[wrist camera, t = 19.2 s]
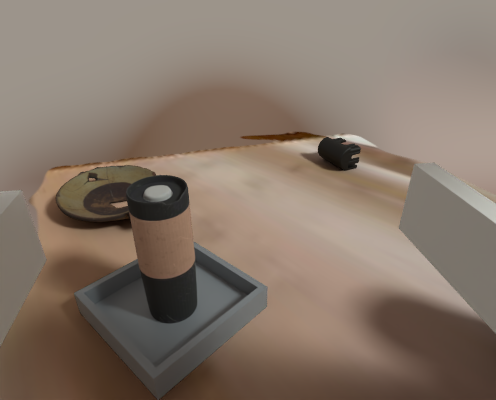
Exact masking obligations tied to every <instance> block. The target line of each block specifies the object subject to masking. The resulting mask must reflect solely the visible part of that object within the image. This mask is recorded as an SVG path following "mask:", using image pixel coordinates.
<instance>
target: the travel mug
mask: <svg viewBox="0 0 496 400" xmlns="http://www.w3.org/2000/svg"><path fill="white" fill-rule="evenodd" d="M126 197H127V203H128V208H129V214H130V219H131V225H132V230H133V236H134V241H135V247H136V252H137V258H138V263H139V268H140V272H141V277H142V281H143V285H144V289H145V294H146V298H147V302H148V306H149V310H150V313H151V315H152V316H153V318H154V319H156V320H157V321H159V322H162V323H168V324H172V323H178V322H181V321H183V320H185V319H187V318H188V317H190V316H191V315H192V314H193V313H194V311H195V310H196V307H197V282H196V264H195V251H194V242H193V232H192V223H191V213H190V204H189V195H188V187H187V184H186V182H185V181H184V180H183V179H181V178H178V177H175V176H169V175H157V176H150V177H146V178H143V179H140V180H138V181H136V182H134V183H132V184H131V185H130V186H129V187H128V188H127V191H126Z"/></svg>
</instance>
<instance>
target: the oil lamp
mask: <svg viewBox="0 0 496 400" xmlns="http://www.w3.org/2000/svg"><path fill="white" fill-rule="evenodd" d="M150 176H156V174H155V172H153V171H151V170H148V169H146V168H142V167H139V166H130V165H127V166H109V167H107V166H106V167H97V168H95V169H92V170H90V171H86V172H81V173H80V174H79V175H78V176H75V177H74V178H72V179H70V180H69V181H68V182H66V183H65V184H64V185H63V186H62V187H61V188H60V189H59V191H58V192H57V195H56V203H57V205H58V207H59V208H60V210H61V211H62V212H63V213H64V214H65V215H67V216H69V217H71V218H74V219H78V220H82V221H91V222H104V221H114V220H122V219H130V214H129V208H128V206H126V207H122V208H116V207H115V206H113V205H111V204H110V203H113V202H120V201H126V200H127V197H126V191H127V188H128V187H129V186H130V185H131V184H132V183H134V182H136V181H138V180H140V179H143V178H146V177H150ZM89 178H95V179H96V181H92V182H90V181H89Z"/></svg>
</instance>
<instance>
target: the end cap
mask: <svg viewBox="0 0 496 400" xmlns="http://www.w3.org/2000/svg"><path fill="white" fill-rule="evenodd" d="M343 142H346V140H345V139H342V138H337V139H331V138H329V137H326V138H324V139H323V140H322V141H321V142H320V144H319V146H318V153H319V155H320V156H321V157H322V158H323V159H325V160H327V161H329V162H330V163H332V164H334V165H336V166H338V167H339V168H341V169H343V170H350V169H354V168H357V165H355V163H358V162H359V157H357V158H353V159H351V157H352V155H355V154H359V153H360V150H361V148H360V147H359V146H358V145H355V144H349V145H344V144H341V143H343Z"/></svg>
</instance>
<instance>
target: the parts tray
mask: <svg viewBox="0 0 496 400" xmlns="http://www.w3.org/2000/svg"><path fill="white" fill-rule="evenodd" d="M193 242H194V241H193ZM194 251H195V264H196V282H197V307H196V310H195V311H194V313H193V314H192V315H191V316H190V317H188V318H187V319H185V320H183V321H181V322H178V323H172V324H168V323H162V322H159V321H157V320H156V319H154V318H153V316H152V315H151V313H150V310H149V306H148V302H147V298H146V294H145V289H144V285H143V281H142V277H141V272H140V268H139V263H138V259H137V260H135V261H133V262H131V263H129V264H127V265H125V266H123V267H122V268H120V269H118V270H116V271H114V272H112V273H110V274H109V275H107V276H105V277H103V278H101V279H99V280H97V281H96V282H94V283H92V284H90V285H88V286H86V287H84V288H83V289H81V290H79V291H77V292H75V293H74V296H75V299H76V302H77V305H78V308H79V311H80V313H81V314H82V316H83V317H84V318H85V319H86V320H87V321H88V322H89V323H90V325H91V326H92V327H93V328H94V329H95V330H96V331H97V332H98V334H99V335H100V336H101V337H102V338H103V339H104V340H105V341H106V342H107V344H108V345H109V346H110V347H111V348H112V349H113V350H114V351H115V353H116V354H117V355H118V356H119V357H120V358H121V359H122V360H123V361H124V363H125V364H126V365H127V366H128V367H129V368H130V369H131V370H132V372H133V373H134V374H135V375H136V376H137V377H138V378H139V379H140V381H141V382H142V383H143V384H144V385H145V386H146V387H147V388H148V389H149V391H150V392H151V393H152V394H153V395H154V396H155V397H156V398H157V400H159V399H160V398H161V397H162V396H164V395H165V394H166V393H167V392H168V391H169V390H171V389H172V388H173V387H174V386H175V385H176V384H177V383H179V382H180V381H181V380H182V379H183V378H184V377H186V376H187V375H188V374H189V373H190V372H191V371H193V370H194V369H195V368H196V367H197V366H198V365H200V364H201V363H202V362H203V361H204V360H205V359H207V358H208V357H209V356H210V355H211V354H212V353H213V352H215V351H216V350H217V349H218V348H219V347H220V346H222V345H223V344H224V343H225V342H226V341H227V340H229V339H230V338H231V337H232V336H233V335H234V334H236V333H237V332H238V331H239V330H240V329H241V328H243V327H244V326H245V325H246V324H247V323H248V322H249V321H251V320H252V319H253V318H254V317H255V316H256V315H258V314H259V313H260V312H261V311H262V310H263V309H265V308H266V307H267V286H265V285H263V284H262V283H260V282H259V281H257V280H255V279H254V278H252V277H250V276H249V275H247V274H246V273H244V272H242V271H241V270H239V269H237V268H236V267H234V266H233V265H231V264H229V263H228V262H226V261H224V260H223V259H221V258H220V257H218V256H216V255H215V254H213V253H211V252H210V251H208V250H207V249H205V248H203V247H202V246H200V245H198V244H197V243H195V242H194Z"/></svg>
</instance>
